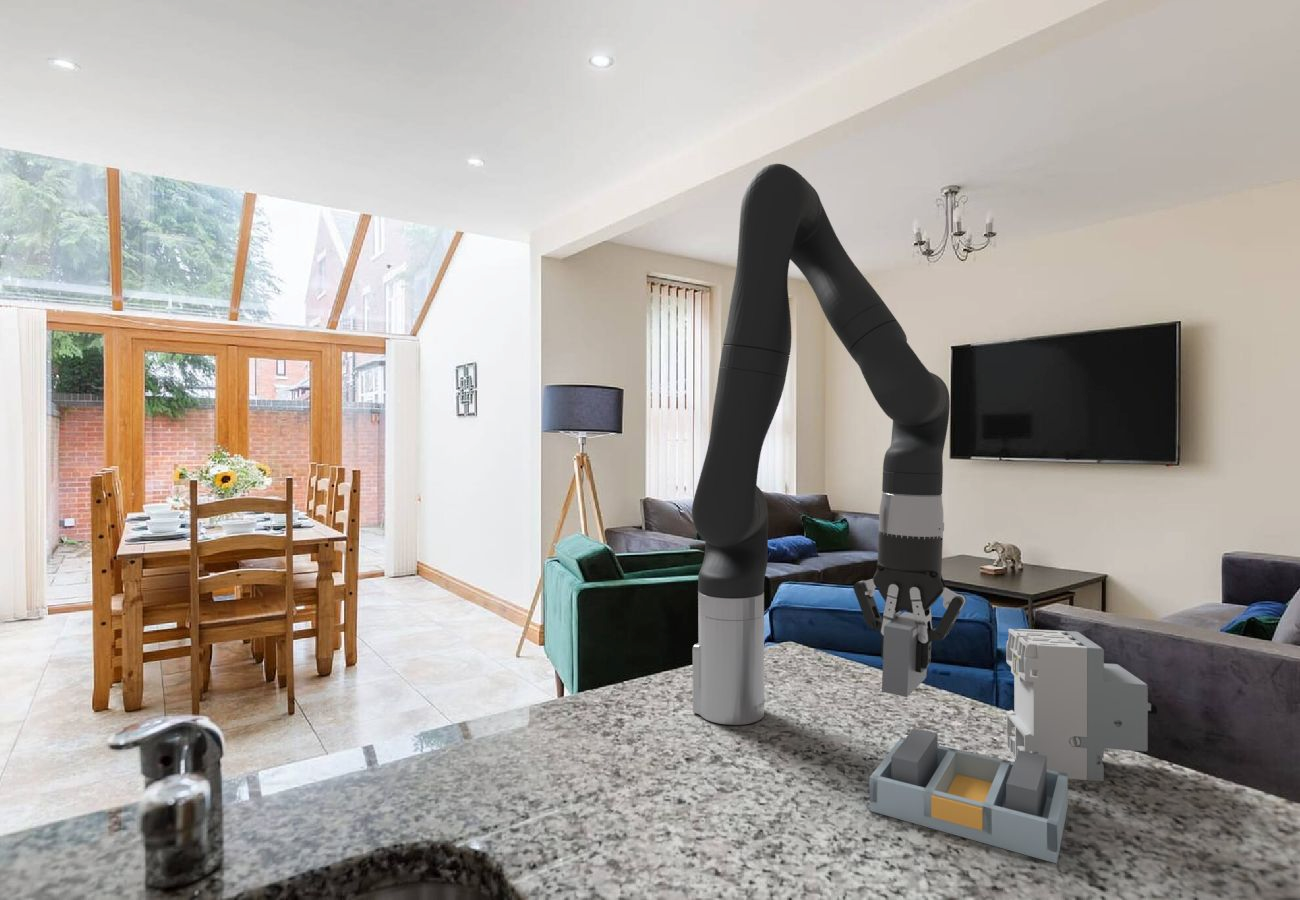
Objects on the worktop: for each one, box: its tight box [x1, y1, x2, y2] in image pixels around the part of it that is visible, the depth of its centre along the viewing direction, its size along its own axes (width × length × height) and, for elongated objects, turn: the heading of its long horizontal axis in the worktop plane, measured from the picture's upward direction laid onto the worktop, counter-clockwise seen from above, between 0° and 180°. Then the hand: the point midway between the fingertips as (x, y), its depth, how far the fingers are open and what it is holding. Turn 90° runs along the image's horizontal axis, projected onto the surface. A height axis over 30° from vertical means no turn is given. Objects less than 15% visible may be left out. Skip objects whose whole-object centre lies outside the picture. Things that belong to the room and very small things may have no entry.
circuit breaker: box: [1005, 628, 1158, 782], centre depth 85 cm, size 8×14×15 cm, turn 78°
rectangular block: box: [881, 611, 928, 698], centre depth 90 cm, size 3×9×8 cm, turn 145°
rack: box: [868, 727, 1069, 865], centre depth 75 cm, size 17×12×6 cm
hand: (905, 667), depth 90 cm, fingers closed on rectangular block, 3 cm apart
